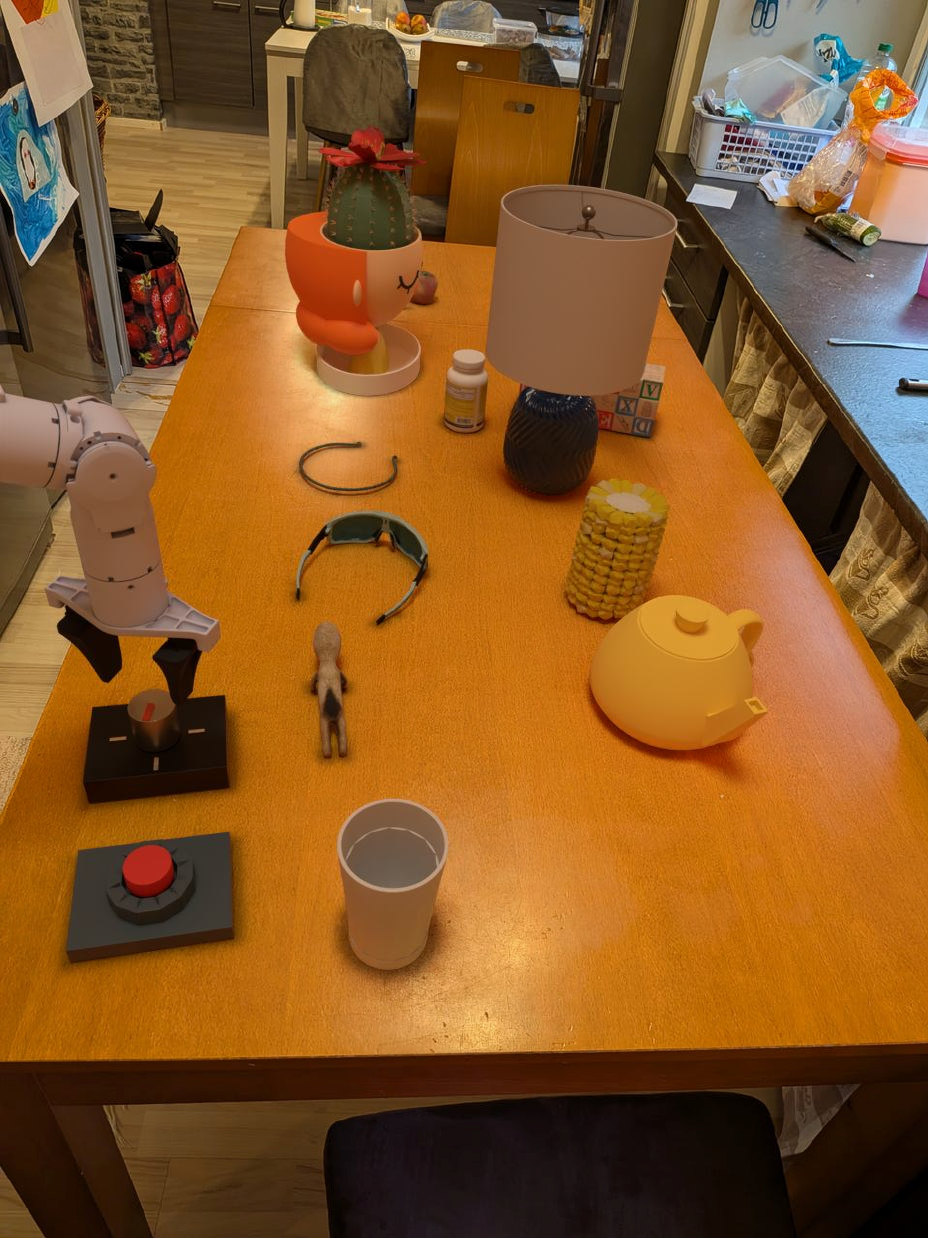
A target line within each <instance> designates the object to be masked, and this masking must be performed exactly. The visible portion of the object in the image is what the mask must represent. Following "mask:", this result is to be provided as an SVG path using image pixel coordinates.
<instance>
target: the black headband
mask: <svg viewBox="0 0 928 1238" xmlns="http://www.w3.org/2000/svg"><path fill="white" fill-rule="evenodd" d="M335 446H341V447H342V446H343V447H344V446H345V447H360V446H362V442H361V441H357V442H355V443H354V442H353V443H352V442H329V443H324V444H320V445H316V446H314V447H312V448H310V449H307V450H306V451H304V453H303V454H302V455H301V456H300V458H299V460H298V468H299V470H300V473H301V474H302V476H303V477H304V478H305V479H306V480H308V481H309V482H310V483H312V484H314V485H316V486H317V487H320V488H324V489H326V490H331V491H337V492H362V491H369V490H373V489H374V490H375V489H377V488H380V487H383V486H385V485H386V486H387V485H388V484H390V483H392V481H394V479H395V477H396V476H397V473H398V465H397V461H396V460H398V456H397V455H395V454H394V455H392V457H391V461H392V464H393V467H394V470H393V473H392V475H391V476H390V477H389V478H388V479H387V480H385V481H383V482H380V483H376V484H374V485H373V484H372V485H370V486H364V487H337V486H331V485H326V484H324V483H321V482H318V481H316V480H314V479H313V478H311V477H310V476H309V475H308V474H307V473H306V472H305V470H304V466H303V461H304V460H305V458H306V457H307V456H308V455H310V453H312V452H314V451H318V450H319V449H323V448H326V447H335Z"/></svg>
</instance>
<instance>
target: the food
mask: <svg viewBox="0 0 928 1238" xmlns="http://www.w3.org/2000/svg"><path fill="white" fill-rule="evenodd" d="M669 510H670V505H669V504H668V503H667V502H666V495H663V494H659V493H657V490H656V489H654V488H653V487H647V486H646V485H644V484H643V483H642V482H636V483H632V482H630V481H629V480H628V479H625V480H621V481H620V480H619V479H617V477H614V478H610V479H608V480H605V479H602V480H601V481H600V482H598V483H597V484H596V485H595V486H593V485H590V488H589V489H588V491H587V494H586V496H585V504H584V505H583V508H582V510H581V518H580V520H579V528H578V529H577V531H576V536H575V544H574V546H573V547H572V550H573V552H572V554H571V559H570V561H571V564H570V566H569V568H568V569H569V571H568V573H567V578H565V580H566V586H565V590H564V591H565V592H566V595H567V599H568V600H569V602H570V604H571V605H575V608H576V611H577V613H579V614H586V615H588V616H589V617H590V618H592V619H593V618H597V617H599V618H600V619H602V620H603V621H606V620H609V619H611V618H613V617H614V618H615V619H622V618H623V617H624V616H625V615H627V614H628V613H630V612H631V611H633V610H634V609H636V608H637V607H639V606H640V605H642V604H644V599H645V598H646V594H647V593H648V589H649V588H650V586H651V580H652V578H653V575H654V574H653V571H654V570H655V565H656V564H657V561H658V559H659V558H658V555H659V550H660V547H661V544H662V542H663V538H664V535H665V531H666V527H667V525H668V523H667V521H668V519H669Z"/></svg>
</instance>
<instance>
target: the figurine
mask: <svg viewBox="0 0 928 1238" xmlns="http://www.w3.org/2000/svg"><path fill="white" fill-rule="evenodd" d="M312 639H313V640H312V648H313V652H314V654H315V656H316V659H318V661H319V667H318V670H317V671H315V672H314V673H313V675H312V677H311V680H310V686H309V688H310V690H311V691H315V690H316V689H317V695H318V696H317V698H318V708H319V726H320V727H319V729H320V734H321V738H322V740H321V741H322V754H323V757H325V758H330V757H332V755H333V751H332V742H331V731H332V724H333V726H334V730H335V733H336V738H337V739H336V740H337V747H338V748H337V749H338V754H339V755H340V756H342V757H345V756H346V755H347V752H348V751H347V744H348V743H347V726H346V724H347V723H346V719H345V712H344V702H343V700H344V699H343V692H342V689H346V688H347V685H348V684H347V683H348V677H347V676H346V674H345V673H344V671H342V670H340V669H339V668H338V666H337V661H338V659H339V657H340V655H341V652H342V651H341V650H342V636H341V632H340V631H339V629H338V627H337V626H336V625H335V624H334V623H332V622H331V621H324V622H320V623H319V624H318V625H317V626H316V628H315V630H314V634H313V638H312Z"/></svg>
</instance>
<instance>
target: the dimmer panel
mask: <svg viewBox="0 0 928 1238" xmlns="http://www.w3.org/2000/svg"><path fill="white" fill-rule="evenodd" d="M128 704H129V703H121V704H110V705H108V704H107V705H97V706H92V707H91V712H90V713H91V714H90V720H89V721H90V722H89V729H88V738H87V746H86V753H85V760H84V767H83V776H82V785H83V788H84V790H85V791H84V792H85V795H86V798H87V801H88V802H87V803H88V804H89V805H91V804H93V805H94V804H100V803H101V804H102V803H109V802H117V801H126V800H127V801H128V800H136V799H137V800H138V799H145V798H146V799H147V798H155V797H162V796H163V797H164V796H173V795H181V794H190V793H197V792H198V793H199V792H207V791H215V790H224V789H225V790H226V789H230V788H231V787H230V785H231V784H230V783H231V781H230V749H229V747H230V745H229V744H230V743H229V715H228V714H229V713H228V707H227V700H226V694H219V695H218V694H217V695H209V696H208V695H207V696H198V697H197V696H196V697H188V698H187V699H186V701H185V702H184V703H183V704H182V705H177V704H176V709H177V714H178V720H179V725H180V731H181V734H180V737H179V739H178V741H177V742H176V743H175V744H174V745H173V746H172V747H170V748H168V749H166V750H163V751H159V752H148V751H144V750H142V749H141V748H139V747H138V746H137V745H136V743H135V740H134V736H133V731H132V727H131V723H130V718H129V714H128Z"/></svg>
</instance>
